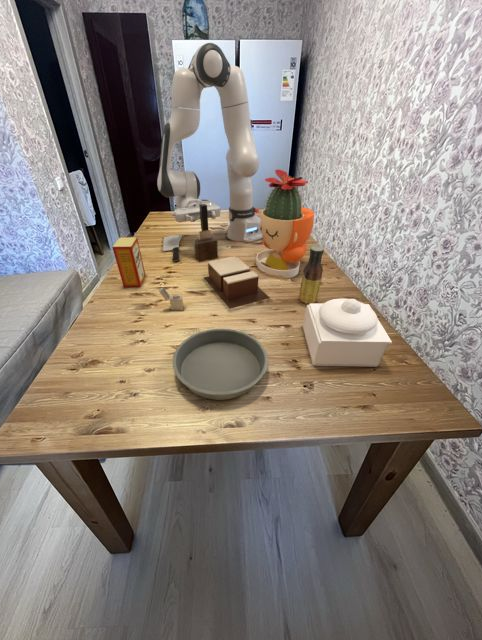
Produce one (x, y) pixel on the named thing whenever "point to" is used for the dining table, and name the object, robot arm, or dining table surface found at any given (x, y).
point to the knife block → (206, 249)
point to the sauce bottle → (312, 276)
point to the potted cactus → (284, 227)
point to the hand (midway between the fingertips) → (203, 218)
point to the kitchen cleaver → (172, 245)
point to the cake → (225, 269)
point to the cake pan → (220, 363)
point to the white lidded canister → (344, 334)
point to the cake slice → (240, 284)
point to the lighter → (173, 300)
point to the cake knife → (204, 223)
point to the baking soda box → (129, 261)
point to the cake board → (238, 300)
